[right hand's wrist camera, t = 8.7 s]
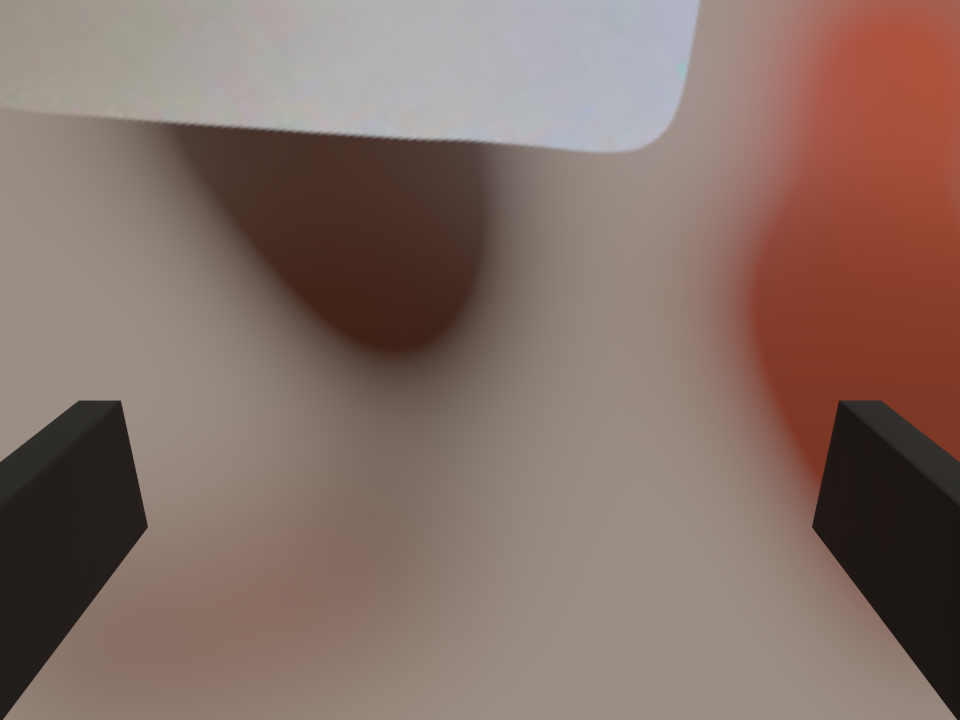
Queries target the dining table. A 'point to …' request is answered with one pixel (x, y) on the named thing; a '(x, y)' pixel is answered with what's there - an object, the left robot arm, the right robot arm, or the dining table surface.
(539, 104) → the dining table surface
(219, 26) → the dining table surface
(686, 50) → the dining table surface
